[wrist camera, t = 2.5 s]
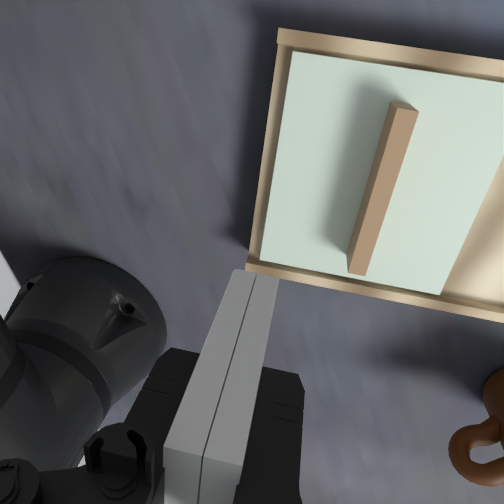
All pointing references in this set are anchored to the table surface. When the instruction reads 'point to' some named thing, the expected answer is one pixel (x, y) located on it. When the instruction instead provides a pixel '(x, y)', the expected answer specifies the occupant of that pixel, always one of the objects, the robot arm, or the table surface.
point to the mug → (482, 438)
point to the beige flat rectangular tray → (483, 227)
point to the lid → (380, 170)
